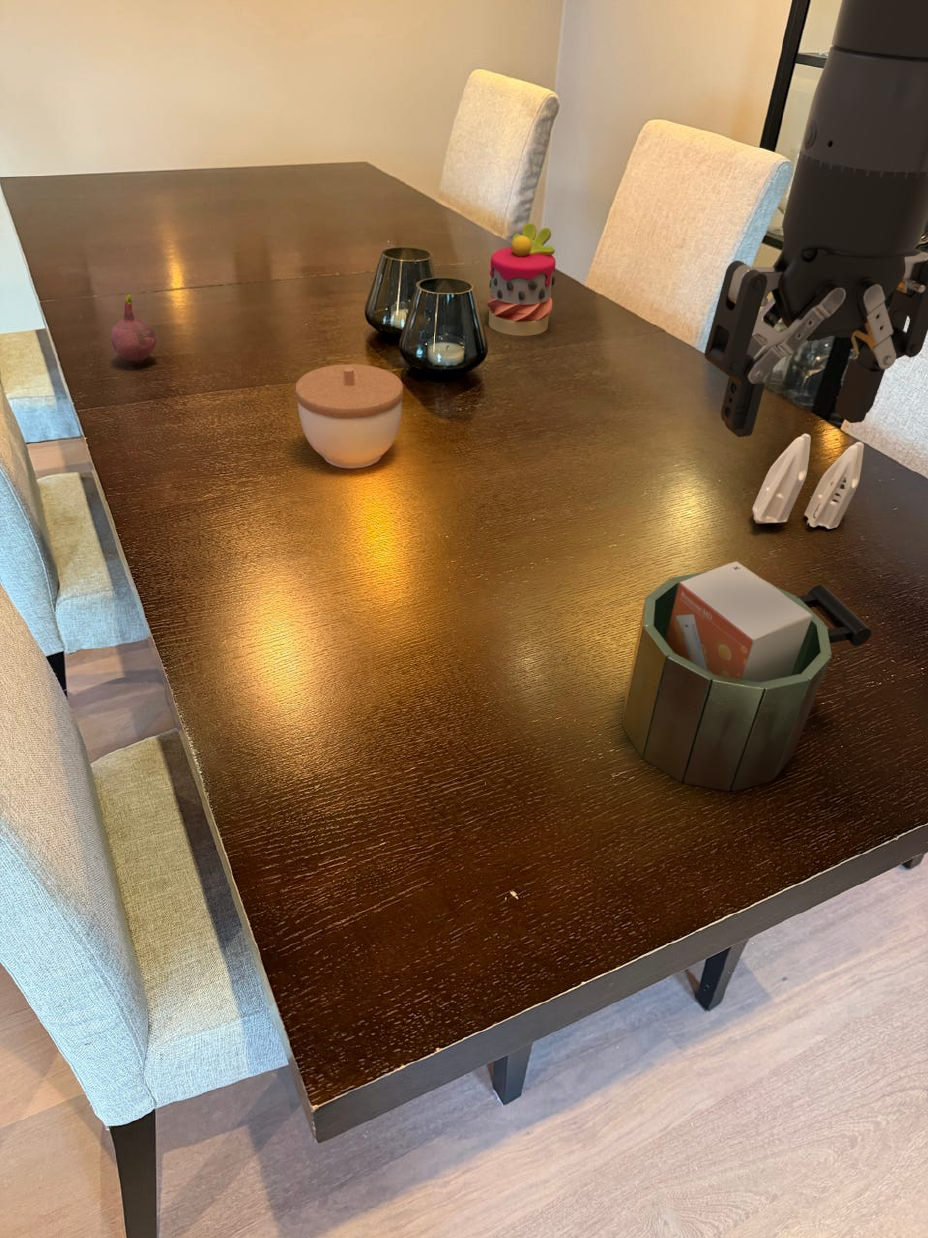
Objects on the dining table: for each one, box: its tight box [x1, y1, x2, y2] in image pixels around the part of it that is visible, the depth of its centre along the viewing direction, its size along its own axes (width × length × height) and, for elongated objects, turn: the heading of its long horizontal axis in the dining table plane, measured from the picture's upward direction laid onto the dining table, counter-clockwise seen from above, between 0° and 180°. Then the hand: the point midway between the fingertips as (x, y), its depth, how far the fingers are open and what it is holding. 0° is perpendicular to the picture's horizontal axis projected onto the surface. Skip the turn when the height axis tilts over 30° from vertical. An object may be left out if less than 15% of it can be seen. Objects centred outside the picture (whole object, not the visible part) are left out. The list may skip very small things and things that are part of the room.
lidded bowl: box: [294, 363, 404, 469], centre depth 107 cm, size 13×13×11 cm
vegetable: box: [110, 294, 157, 364], centre depth 126 cm, size 6×6×10 cm
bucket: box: [621, 570, 873, 792], centre depth 73 cm, size 11×14×18 cm
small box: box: [666, 561, 812, 682], centre depth 71 cm, size 8×6×13 cm
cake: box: [486, 222, 557, 337], centre depth 143 cm, size 10×11×15 cm
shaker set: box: [751, 433, 865, 530], centre depth 99 cm, size 12×4×11 cm, turn 99°
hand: (793, 424), depth 58 cm, fingers open, 8 cm apart
